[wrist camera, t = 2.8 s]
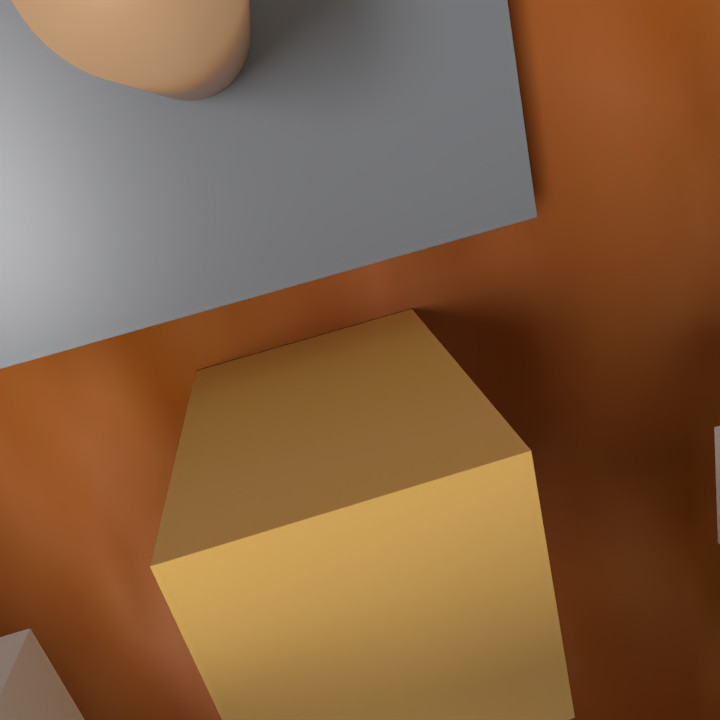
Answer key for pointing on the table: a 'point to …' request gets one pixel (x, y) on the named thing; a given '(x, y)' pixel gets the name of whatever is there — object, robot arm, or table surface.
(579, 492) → the table surface
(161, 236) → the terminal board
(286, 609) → the tan rectangular block
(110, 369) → the table surface
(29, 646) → the robot arm
